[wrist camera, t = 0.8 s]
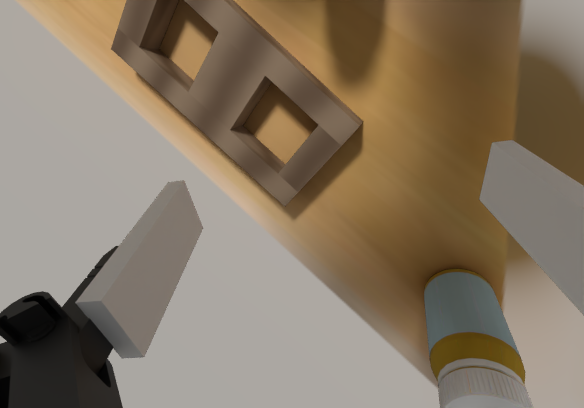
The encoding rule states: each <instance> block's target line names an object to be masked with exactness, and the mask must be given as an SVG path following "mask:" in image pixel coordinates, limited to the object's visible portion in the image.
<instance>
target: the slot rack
mask: <svg viewBox="0 0 584 408" xmlns="http://www.w3.org/2000/svg"><path fill="white" fill-rule="evenodd" d="M178 1H179V0H127V1H126V4H125V7H124V10H123V13H122V17H121V20H120V23H119V26H118V29H117V32H116V35H115V38H114V41H113V45H112V48H111V49H112V50H113V51H114V52H115V53H116V54H117V55H118V56H120V57H121V58H122V59H123V60H124V61H125V62H126V63H127V64H128V65H129V66H131V67H132V68H133V69H134V70H135V71H136V72H137V73H138V74H139V75H140V76H142V77H143V78H144V79H145V80H146V81H147V82H148V83H149V84H150V85H151V86H153V87H154V88H155V89H156V90H157V91H158V92H159V93H160V94H161V95H162V96H164V97H165V98H166V99H167V100H168V101H169V102H170V103H171V104H172V105H173V106H175V107H176V108H177V109H178V110H179V111H180V112H181V113H182V114H183V115H184V116H186V117H187V118H188V119H189V120H190V121H191V122H192V123H193V124H194V125H195V126H197V127H198V128H199V129H200V130H201V131H202V132H203V133H204V134H205V135H206V136H208V137H209V138H210V139H211V140H212V141H213V142H214V143H215V144H216V145H217V146H219V147H220V148H221V149H222V150H223V151H224V152H225V153H226V154H227V155H228V156H230V157H231V158H232V159H233V160H234V161H235V162H236V163H237V164H238V165H239V166H241V167H242V168H243V169H244V170H245V171H246V172H247V173H248V174H249V175H250V176H252V177H253V178H254V179H255V180H256V181H257V182H258V183H259V184H260V185H262V186H263V187H264V188H265V189H266V190H267V191H268V192H269V193H270V194H271V195H273V196H274V197H275V198H276V199H277V200H278V201H279V202H280V203H281V204H282V205H284V206H286V205H287V204H288V203H289V202H290V201H291V200H292V199H293V197H294V196H295V195H296V194H297V193H298V192H299V191H300V190H301V189H302V188H303V187H304V186H305V185H306V183H307V182H308V181H309V180H310V179H311V178H312V177H313V176H314V175H315V174H316V173H317V172H318V171H319V170H320V168H321V167H322V166H323V165H324V164H325V163H326V162H327V161H328V160H329V159H330V158H331V157H332V156H333V154H334V153H335V152H336V151H337V150H338V149H339V148H340V147H341V146H342V145H343V144H344V143H345V142H346V141H347V139H348V138H349V137H350V136H351V135H352V134H353V133H354V132H355V131H356V130H357V129H358V128H359V127H360V125H361V124H362V123H363V121H362V120H361V119H360V118H359V117H358V116H357V115H356V114H355V113H354V112H353V111H352V110H350V109H349V108H348V107H347V106H346V105H345V104H344V103H343V102H342V101H341V100H340V99H339V98H338V97H336V96H335V95H334V94H333V93H332V92H331V91H330V90H329V89H328V88H327V87H326V86H325V85H324V84H322V83H321V82H320V81H319V80H318V79H317V78H316V77H315V76H314V75H313V74H312V73H311V72H310V71H309V70H307V69H306V68H305V67H304V66H303V65H302V64H301V63H300V62H299V61H298V60H297V59H296V58H295V57H293V56H292V55H291V54H290V53H289V52H288V51H287V50H286V49H285V48H284V47H283V46H282V45H281V44H280V43H278V42H277V41H276V40H275V39H274V38H273V37H272V36H271V35H270V34H269V33H268V32H267V31H266V30H264V29H263V28H262V27H261V26H260V25H259V24H258V23H257V22H256V21H255V20H254V19H253V18H252V17H250V16H249V15H248V14H247V13H246V12H245V11H244V10H243V9H242V8H241V7H240V6H239V5H238V4H237V3H235V2H234V1H233V0H184V1H185V2H186V3H187V4H188V5H190V6H191V7H192V8H193V9H194V10H195V11H196V12H197V13H198V14H199V15H200V16H201V17H203V18H204V19H205V20H206V21H207V22H208V23H209V24H210V25H211V26H212V27H213V28H214V29H215V30H217V31H218V32H219V33H218V35H217V37H216V39H215V41H214V43H213V45H212V47H211V49H210V51H209V52H208V54H207V56H206V58H205V60H204V62H203V64H202V66H201V68H200V70H199V72H198V74H197V76H196V78H195V80H194V81H193V80H192V79H191V78H190V77H189V76H188V75H187V74H186V73H185V72H184V71H182V70H181V69H180V68H179V67H178V66H177V65H176V64H175V63H174V62H173V61H172V60H170V59H169V58H168V57H167V56H166V55H165V54H164V53H163V52H162V51H161V50H160V49H159V47H160V45H161V43H162V40H163V38H164V35H165V33H166V30H167V28H168V26H169V23H170V21H171V18H172V16H173V13H174V11H175V9H176V6H177V4H178ZM272 82H273V83H274V84H275V85H276V86H277V87H278V88H279V89H280V90H281V91H283V92H284V93H285V94H286V95H287V96H288V97H289V98H290V99H291V100H292V101H293V102H294V103H296V104H297V105H298V106H299V107H300V108H301V109H302V110H303V111H304V112H305V113H306V114H307V115H309V116H310V117H311V118H312V119H313V120H314V121H315V122H316V123H317V124H318V126H317V128H316V129H315V130H314V131H313V132H312V134H311V135H310V136H309V137H308V138H307V140H306V141H305V142H304V143H303V144H302V146H301V147H300V148H299V149H298V150H297V152H296V153H295V154H294V155H293V156H292V158H291V159H290V160H289V161H288V162H287V163H286V165H285V164H284V163H283V162H282V161H281V160H280V159H279V158H278V157H277V156H275V155H274V154H273V153H272V152H271V151H270V150H269V149H268V148H267V147H266V146H264V145H263V144H262V143H261V142H260V141H259V140H258V139H257V138H256V137H255V136H254V135H252V134H251V133H250V132H249V131H248V130H247V129H246V128H245V127H244V126H243V124H244V123H245V121H246V120H247V118H248V117H249V115H250V114H251V112H252V111H253V109H254V108H255V106H256V105H257V103H258V102H259V100H260V99H261V97H262V96H263V94H264V93H265V91H266V90H267V88H268V87H269V85H270V84H271V83H272Z"/></svg>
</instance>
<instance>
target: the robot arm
mask: <svg viewBox="0 0 584 408" xmlns="http://www.w3.org/2000/svg"><path fill="white" fill-rule="evenodd" d="M479 200H480V201H481V202H482V203H483V204H484V205H485V207H486V208H487V209H488V210H489V211H490V212H491V213H492V214H493V215H494V217H495V218H496V219H497V220H498V221H499V222H500V223H501V224H502V225H503V227H504V228H505V229H506V230H507V231H508V232H509V233H510V234H511V235H512V236H513V238H514V239H515V240H516V241H517V242H518V243H519V244H520V245H521V246H522V248H523V249H524V250H525V251H526V252H527V253H528V254H529V255H530V256H531V257H532V259H533V260H534V261H535V262H536V263H537V264H538V265H539V266H540V268H541V269H542V270H543V271H544V272H545V273H546V274H547V275H548V276H549V277H550V279H551V280H552V281H553V282H554V283H555V284H556V285H557V286H558V287H559V289H560V290H561V291H562V292H563V293H564V294H565V295H566V296H567V297H568V299H569V300H570V301H571V302H572V303H573V304H574V305H575V306H576V307H577V308H578V310H579V311H580V312H581V313H582V314H583V315H584V186H583V185H581V184H580V183H578V182H576V181H575V180H573V179H572V178H570V177H569V176H567V175H566V174H564V173H563V172H561V171H559V170H558V169H556V168H555V167H553V166H552V165H550V164H549V163H547V162H545V161H544V160H542V159H541V158H539V157H538V156H536V155H535V154H533V153H531V152H530V151H528V150H527V149H525V148H524V147H522V146H521V145H519V144H518V143H516V142H515V141H513V140H509V141H501V142H493V143H492V145H491V149H490V154H489V158H488V163H487V167H486V172H485V176H484V180H483V185H482V189H481V194H480V198H479ZM202 229H203V226H202V224H201V221H200V219H199V216H198V214H197V211H196V209H195V206H194V204H193V201H192V199H191V196H190V194H189V191H188V189H187V186H186V184H185V181H176V182H168V183H167V185H166V186H165V187H164V189H163V190H162V191H161V192H160V194H159V195H158V196H157V197H156V199H155V200H154V202H153V203H152V204H151V205H150V207H149V208H148V209H147V211H146V212H145V213H144V214H143V216H142V217H141V218H140V220H139V221H138V222H137V223H136V225H135V226H134V227H133V229H132V230H131V231H130V232H129V234H128V235H127V236H126V238H125V239H124V240H123V242H122V243H121V244H120V245H119V246H115V247H114V248H113V249H111V250H110V251H109V252H108V253H106V254H105V255H104V256H103V257H102V258H101V259H100V261H99V262H98V263H97V265H96V266H95V269H92V271H91V272H90V273H89V274H88V276H87V278H85V279H84V281H83V282H82V283H81V284H80V286H79V287H78V288H77V289H76V291H75V292H74V293H73V294H72V296H71V297H70V298H69V299H68V300H67V302H66V303H65V304H64V305H63V307H61V306H60V305H59V304H58V303H57V302H56V301H55V300H54V298H53V297H52V296H51V295H50V294H49V293H47V292H36V293H32V294H30V295H27V296H25V297H22V298H21V299H19V300H17V301H16V302H14V303H12V304H11V305H9V306H8V307H7V308H6V309H4V310H3V311H2V312H1V313H0V336H2V337H3V338H4V339H5V340H6V341H7V342H5V343H1V344H0V408H123V407H122V403H121V399H120V395H119V391H118V387H117V384H116V379H115V376H114V371H113V367H112V365H111V363H110V361H109V360H108V359H107V358H108V356H109V354H110V353H111V350H112V349H113V348H114V350H116V352H117V353H118V354H119V355H120V357H121V358H137V357H145V354H146V352H147V350H148V348H149V346H150V343H151V341H152V339H153V337H154V335H155V332H156V330H157V328H158V326H159V324H160V321H161V319H162V317H163V315H164V313H165V310H166V308H167V306H168V304H169V302H170V299H171V297H172V295H173V293H174V291H175V289H176V286H177V284H178V282H179V280H180V277H181V275H182V273H183V271H184V269H185V267H186V264H187V262H188V260H189V258H190V256H191V253H192V251H193V249H194V247H195V245H196V243H197V240H198V238H199V236H200V234H201V232H202Z"/></svg>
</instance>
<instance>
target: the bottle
mask: <svg viewBox="0 0 584 408" xmlns="http://www.w3.org/2000/svg"><path fill="white" fill-rule="evenodd" d="M424 302H425V313H426V324H427V335H428V346H429V357H430V363H431V368H432V371H433V373H434V375H435V377H436V379H437V381H438V386H439V401H440V408H534V407H533V405H532V402H531V400H530V397H529V395H528V393H527V390H526V387H525V385H524V381H525V370H524V366H523V363H522V360H521V357H520V355H519V352H518V350H517V347H516V345H515V342H514V340H513V337H512V335H511V333H510V330H509V328H508V325H507V323H506V320H505V318H504V315H503V313H502V310H501V308H500V305H499V303H498V300H497V298H496V295H495V293H494V291H493V289H492V287H491V285H490V284H489V283H488V281H487V280H486V279H485V278H483V277H482V276H480V275H479V274H477V273H475V272H472V271H469V270H464V269H450V270H444V271H441V272H439V273H437V274H435V275H434V276H432V277H431V278H430V279H429V280H428V282H427V283H426V285H425V288H424Z"/></svg>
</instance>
